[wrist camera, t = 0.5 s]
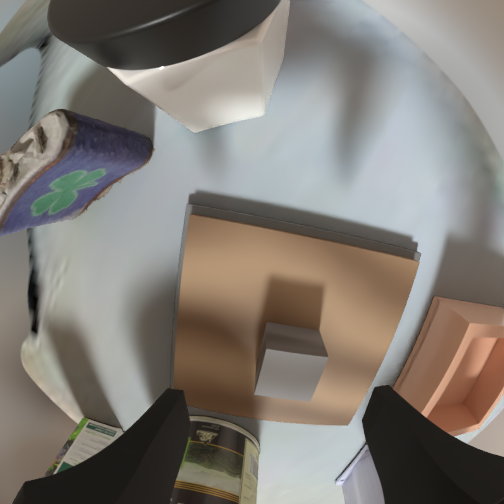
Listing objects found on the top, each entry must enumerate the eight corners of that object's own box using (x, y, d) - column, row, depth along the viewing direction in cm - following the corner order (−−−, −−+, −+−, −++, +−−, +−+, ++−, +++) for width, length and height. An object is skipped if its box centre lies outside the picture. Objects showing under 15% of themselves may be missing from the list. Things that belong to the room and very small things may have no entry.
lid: (346, 419, 20) (355, 451, 16) (175, 395, 20) (161, 428, 16) (414, 259, 16) (445, 276, 12) (193, 213, 16) (171, 220, 13)
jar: (267, 17, 14) (264, -109, 2) (299, 111, 15) (351, -10, 4) (147, 50, 15) (54, -37, 3) (163, 146, 16) (24, 100, 5)
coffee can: (142, 429, 22) (95, 531, 9) (212, 400, 21) (175, 547, 7) (208, 475, 24) (189, 568, 10) (280, 454, 22) (281, 570, 8)
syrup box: (122, 427, 23) (71, 523, 8) (137, 455, 24) (99, 542, 10) (83, 415, 23) (28, 496, 9) (100, 444, 24) (57, 520, 10)
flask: (71, 224, 18) (-38, 255, 7) (58, 193, 17) (-50, 207, 7) (161, 157, 16) (46, 129, 6) (144, 123, 16) (34, 73, 5)
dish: (459, 402, 20) (478, 428, 15) (379, 411, 20) (394, 448, 15) (507, 308, 17) (537, 327, 12) (434, 296, 17) (469, 323, 13)
